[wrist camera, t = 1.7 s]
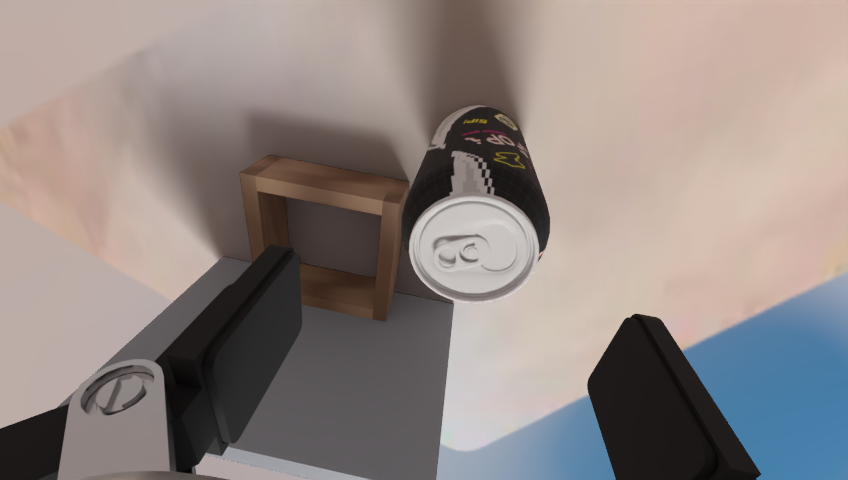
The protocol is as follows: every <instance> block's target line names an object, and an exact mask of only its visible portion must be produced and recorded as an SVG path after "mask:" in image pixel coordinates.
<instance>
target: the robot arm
mask: <svg viewBox="0 0 848 480" xmlns="http://www.w3.org/2000/svg"><path fill="white" fill-rule="evenodd" d="M301 327H302V303H301V282H300V261H299V255H298V254H295V253H294V251H293V249H292V248H290V247H285V246H280V245H275V244H271V245H269V246H268V247H267V248H266V249H265V250H264V251H263V252H262V254H261V255H260V256H259V257H258V258H257V259H256V260H255V261H254V262H253V263H252V264H251V265H250V266H249V267H248V268H247V269H246V270H245V272H244V273H243V274H242V275H241V276H240V277H239V278H238V279H237V280H236V281H235V282H234V283H233V284H230V285H228V286H227V287H226V288H224V289H223V290H222V291H221V292H220V293H219V294H218V295H217V297H216V298H215V299H214V300H213V301H212V302H211V303H210V304H209V305H208V306H207V307H206V308H205V309H204V310H203V311H202V312H201V313H200V314H199V315H198V316H197V317H196V318H195V319H194V320H193V322H192V323H191V324H190V325H189V326H188V327H187V328H186V329H185V330H184V331H183V332H182V333H181V334H180V335H179V336H178V337H177V338H176V339H175V340H174V341H173V342H172V343H171V344H170V345H169V347H168V348H167V349H166V350H165V351H164V352H163V353H162V354H161V355H160V356H159V357H158V358H157V359H156V360H155V361H154V362H153V361H149V360H146V359H132V360H127V361H122V362H118V363H116V364H113V365H110V366H108V367H105V368H104V369H102V370H100V371H98V372H97V373H95V374H93V375H92V376H91V377H89V378H88V379H87V380H86V381H85V382H83V383H82V384H81V385H80V386H79V388H78V389H77V390H76V391H75V393H74V394H73V396H72V399H71V401H70V403H69V404H67V405H64V406H61V407H58V408H56V409H53V410H50V411H47V412H45V413H42V414H39V415H36V416H34V417H31V418H29V419H26V420H23V421H20V422H17V423H15V424H12V425H9V426H6V427H4V428H1V429H0V480H227V479H222V478H217V477H211V476H204V475H196V469H195V465H197V464H199V462H200V461H201V459H202V458H203V456H204V455H205V453H209V454H213V455H218V456H222V455H223V454H224V452H225V450H226V449H227V447H228V445H229V443H232V444H234V443H236V442H237V441H238V440H239V438H240V437H241V435H242V433H243V431H244V430H245V428H246V426H247V424H248V423H249V421H250V419H251V417H252V416H253V414H254V412H255V410H256V409H257V407H258V405H259V403H260V402H261V400H262V398H263V396H264V395H265V393H266V391H267V389H268V388H269V386H270V384H271V382H272V381H273V379H274V377H275V375H276V374H277V372H278V370H279V368H280V367H281V365H282V363H283V361H284V360H285V358H286V356H287V354H288V353H289V351H290V349H291V347H292V346H293V344H294V342H295V340H296V339H297V337H298V335H299V333H300V331H301ZM587 386H588V393H589V396H590V399H591V402H592V405H593V408H594V411H595V414H596V418H597V421H598V424H599V427H600V430H601V433H602V437H603V440H604V443H605V446H606V449H607V452H608V456H609V458H610V462H611V464H612V468H613V471H614V474H615V477H616V480H756V478H757V477H759V476H760V475H761V473H760V472H759V470H758V469H757V467H756V466H755V464H754V462H753V461H752V459H751V458H750V456H749V455H748V453H747V452H746V450H745V448H744V447H743V445H742V444H741V442H740V441H739V439H738V438H737V436H736V435H735V433H734V431H733V430H732V428H731V427H730V425H729V424H728V422H727V421H726V419H725V418H724V416H723V414H722V413H721V411H720V410H719V408H718V407H717V405H716V404H715V402H714V401H713V399H712V397H711V396H710V394H709V393H708V392H707V390H706V388H705V387H704V385H703V384H702V382H701V381H700V379H699V377H698V376H697V374H696V373H695V371H694V370H693V368H692V367H691V365H690V364H689V362H688V361H687V359H686V357H685V356H684V354H683V353H682V351H681V350H680V348H679V347H678V345H677V343H676V342H675V340H674V339H673V337H672V336H671V334H670V333H669V331H668V330H667V328H666V326H665V325H664V323H663V322H662V321H661V320H660V319H659V318H657V317H651V316H646V315H641V314H634V315H632V316H631V318H626V319H625V320H624V321H623V323H622V325H621V326H620V328H619V329H618V331H617V333H616V334H615V336H614V338H613V339H612V341H611V343H610V344H609V346H608V348H607V349H606V351H605V352H604V354H603V356H602V357H601V359H600V361H599V362H598V364H597V366H596V367H595V369H594V371H593V372H592V374H591V375H590V377H589V379H588V385H587Z"/></svg>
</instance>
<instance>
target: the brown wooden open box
mask: <svg viewBox="0 0 848 480" xmlns="http://www.w3.org/2000/svg"><path fill="white" fill-rule="evenodd" d="M239 174H240V180H241V187H242V194H243V200H244V207H245V214H246V221H247V227H248V234H249V241H250V248H251V254H252V261H253V262H254V261H255V260H256V259H257V258H258V257H259V256H260V255H261V254H262V252H263V251H264V250H265V249H266V248H267V247H268V246H269V245H271V244H275V245H280V246H285V247H289V237H288V224H287V211H286V197H290V198H295V199H300V200H305V201H311V202H316V203H321V204H326V205H331V206H336V207H341V208H346V209H351V210H356V211H361V212H366V213H372V214H377V215H382V217H381V228H380V239H379V250H378V261H377V273H376V279H375V278H370V277H365V276H361V275H356V274H351V273H346V272H341V271H336V270H331V269H326V268H321V267H317V266H312V265H307V264H302V263H300V282H301V303H302V305H307V306H311V307H316V308H321V309H326V310H331V311H335V312H340V313H345V314H350V315H354V316H359V317H364V318H369V319H373V320H378V321H383V322H385V321H386V318H387V315H388V312H389V309H390V306H391V303H392V300H393V297H394V293H395V288H396V280H397V273H398V265H399V257H400V250H401V242H402V231H401V221H402V213H403V209H404V204H405V202H406V199H407V196H408V188H409V182H407V181H402V180H397V179H392V178H386V177H381V176H376V175H371V174H366V173H360V172H355V171H350V170H345V169H340V168H334V167H329V166H324V165H319V164H314V163H308V162H303V161H298V160H293V159H287V158H282V157H277V156H272V155H268V156H266V157H264V158H263V159H261V160H260V161H258V162H256V163H255V164H253V165H252V166H250V167H248V168H247V169H245V170H244V171H242V172H240V173H239Z"/></svg>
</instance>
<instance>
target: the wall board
mask: <svg viewBox="0 0 848 480" xmlns="http://www.w3.org/2000/svg"><path fill="white" fill-rule="evenodd" d="M251 264H252V262H247V261H242V260H237V259H232V258H227V257H222V258H221V259H220V260H219V261H218V262H217V263H216V264H215V265H214V266H212V267H211V268H210V269H209V270H208V271H207V272H206V273H205V274H204V275H203V276H201V277H200V278H199V279H198V280H197V281H196V282H195V283H194V284H193V285H191V286H190V287H189V288H188V289H187V290H186V291H185V292H184V293H183V294H182V295H180V296H179V297H178V298H177V299H176V300H175V301H174V302H173V303H172V304H171V305H169V306H168V307H167V308H166V309H165V310H164V311H163V312H162V313H161V314H160V315H158V316H157V317H156V318H155V319H154V320H153V321H152V322H151V323H150V324H149V325H148V326H146V327H145V328H144V329H143V330H142V331H141V332H140V333H139V334H138V335H136V336H135V337H134V338H133V339H132V340H131V341H130V342H129V343H128V344H126V345H125V346H124V348H122V349H121V350H120V351H119V352H118V353H117V354H116V355H114V356H113V357H112V358H111V359H110V360H109V361H108V362H107V363H106V364H104V365H103V366H102V367H101V368H100V369H99V370H98V371H100V370H102V369H104V368H105V367H108V366H110V365H113V364H116V363H118V362H122V361H127V360H132V359H146V360H149V361H153V362H154V361H155V360H156V359H157V358H158V357H159V356H160V355H161V354H162V353H163V352H164V351H165V350H166V349H167V348H168V347H169V345H170V344H171V343H172V342H173V341H174V340H175V339H176V338H177V337H178V336H179V335H180V334H181V333H182V332H183V331H184V330H185V329H186V328H187V327H188V326H189V325H190V324H191V323H192V322H193V320H194V319H195V318H196V317H197V316H198V315H199V314H200V313H201V312H202V311H203V310H204V309H205V308H206V307H207V306H208V305H209V304H210V303H211V302H212V301H213V300H214V299H215V298H216V297H217V295H218V294H219V293H220V292H221V291H222V290H223V289H224V288H226V287H227V286H228V285H230V284H233V283H234V282H235V281H236V280H237V279H238V278H239V277H240V276H241V275H242V274H243V273H244V272H245V270H246V269H247V268H248V267H249V266H250V265H251ZM453 307H454V304H451V303H446V302H441V301H437V300H432V299H427V298H422V297H417V296H412V295H407V294H402V293H398V292H395V293H394V297H393V300H392V303H391V306H390V309H389V312H388V315H387V318H386V321H385V322H383V321H378V320H373V319H369V318H364V317H359V316H354V315H350V314H345V313H340V312H335V311H331V310H326V309H321V308H316V307H311V306H307V305H302V327H301V331H300V333H299V335H298V337H297V339H296V340H295V342H294V344H293V346H292V347H291V349H290V351H289V353H288V354H287V356H286V358H285V360H284V361H283V363H282V365H281V367H280V368H279V370H278V372H277V374H276V375H275V377H274V379H273V381H272V382H271V384H270V386H269V388H268V389H267V391H266V393H265V395H264V396H263V398H262V400H261V402H260V403H259V405H258V407H257V409H256V410H255V412H254V414H253V416H252V417H251V419H250V421H249V423H248V424H247V426H246V428H245V430H244V431H243V433H242V435H241V437H240V438H239V440H238V441H237V442H236V443H234V444H232V443H229V445H228V447H227V449H226V450H225V452H224V454H223V455H222V456H218V455H213V454H209V453H205V455H207V456H211V457H215V458H220V459H224V460H228V461H233V462H237V463H241V464H246V465H250V466H254V467H259V468H263V469H267V470H272V471H276V472H280V473H285V474H289V475H293V476H298V477H302V478H306V479H311V480H436V474H437V464H438V455H439V446H440V436H441V426H442V416H443V406H444V396H445V386H446V377H447V367H448V357H449V347H450V337H451V327H452V317H453ZM98 371H97V372H98ZM97 372H96V373H97ZM74 393H75V392H74ZM74 393H73V394H74ZM73 394H71V395H70V396H69V397H68V398H67V399H66V400H65V401H64V402H63V403H62V404H60V405H59V406H58V407H61V406H64V405H67V404H69V403H70V401H71V399H72V396H73ZM58 407H57V408H58Z"/></svg>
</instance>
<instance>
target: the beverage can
mask: <svg viewBox="0 0 848 480" xmlns="http://www.w3.org/2000/svg"><path fill="white" fill-rule="evenodd" d="M401 231H402V236H403V241H404V245H405V247H406V249H407V252H408V254H409V256H410V260H411V264H412V266H413V268H414V270H415V272H416V274H417V275H418V276H419V278H420V279H421V281H422V282H423V283H424V284H426V285H427V286H428V287H429V288H430V289H431V290H433V291H434V292H436V293H437V294H439V295H441V296H443V297H446V298H448V299H451V300H454V301H458V302H464V303H487V302H493V301H496V300H499V299H502V298H505V297H507V296H509V295H511V294H513V293H515V292H516V291H517V290H519V289H520V288H521V287H522V286H524V285H525V283H526V282H527V281H528V280H529V279H530V277H531V276H532V274H533V272H534V270H535V268H536V266H537V262H538V261H539V260H540V258H541V256H542V254H543V252H544V250H545V249H546V245H547V241H548V237H549V234H550V216H549V212H548V207H547V203H546V200H545V198H544V195H543V192H542V189H541V186H540V183H539V181H538V178H537V175H536V172H535V169H534V166H533V163H532V161H531V158H530V155H529V152H528V149H527V146H526V143H525V141H524V138H523V135H522V133H521V131H520V129H519V127H518V125H517V124H516V123H515V121H514V120H513V119H512V118H511V117H509V116H508V115H507V114H506V113H504V112H502V111H500V110H499V109H497V108H493V107H490V106H482V105H476V106H468V107H465V108H462V109H459V110H457V111H456V112H454V113H452V114H450V115H449V116H448V117H447V118H446V119H445V120H444V121H443V122H442V123H441V124H440V126H439V127H438V128H437V130H436V132H435V134H434V136H433V138H432V141H431V143H430V145H429V148H428V150H427V152H426V155H425V157H424V159H423V162H422V164H421V167H420V169H419V171H418V174H417V176H416V178H415V181H414V183H413V185H412V188H411V190H410V192H409V195H408V197H407V199H406V202H405V204H404V209H403V213H402V221H401Z"/></svg>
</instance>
